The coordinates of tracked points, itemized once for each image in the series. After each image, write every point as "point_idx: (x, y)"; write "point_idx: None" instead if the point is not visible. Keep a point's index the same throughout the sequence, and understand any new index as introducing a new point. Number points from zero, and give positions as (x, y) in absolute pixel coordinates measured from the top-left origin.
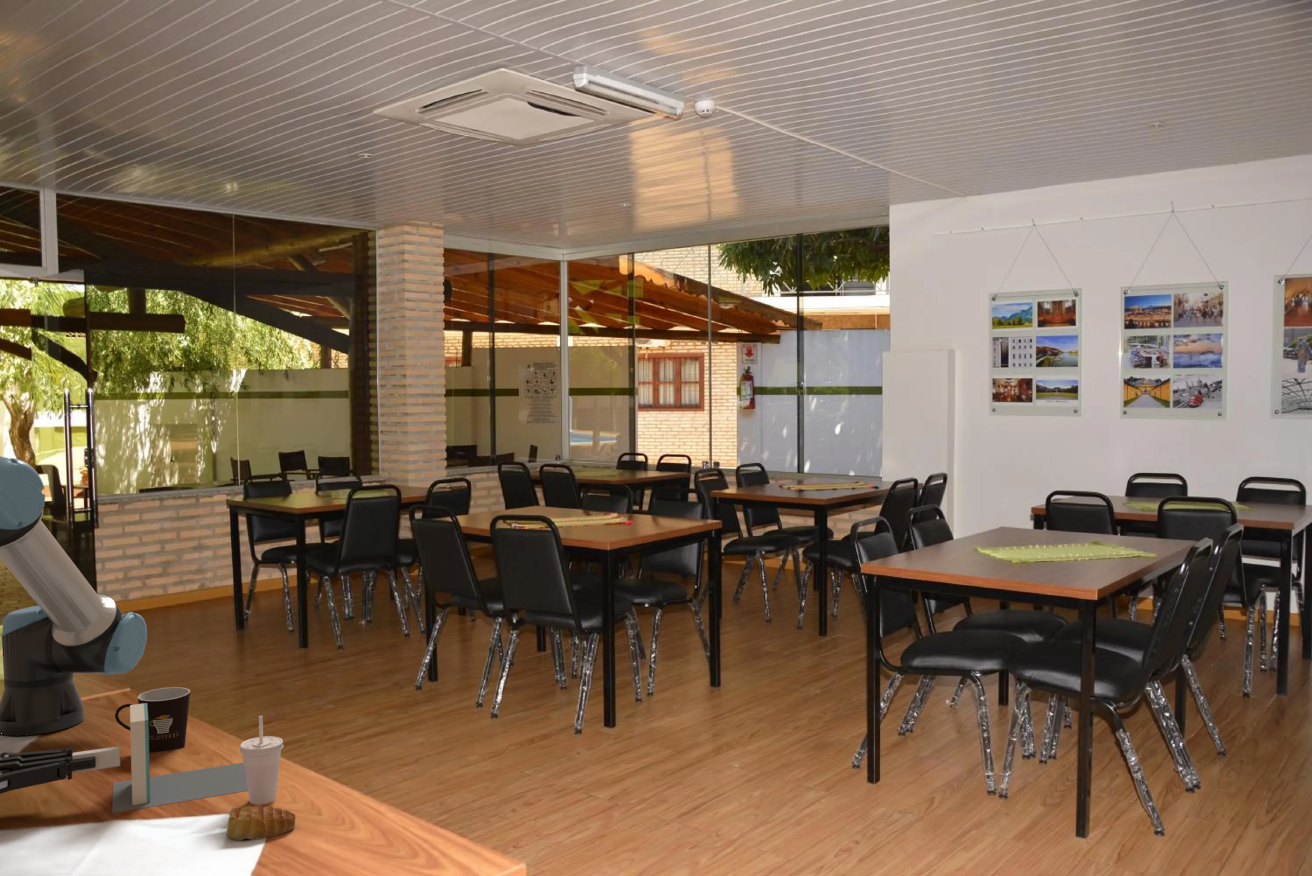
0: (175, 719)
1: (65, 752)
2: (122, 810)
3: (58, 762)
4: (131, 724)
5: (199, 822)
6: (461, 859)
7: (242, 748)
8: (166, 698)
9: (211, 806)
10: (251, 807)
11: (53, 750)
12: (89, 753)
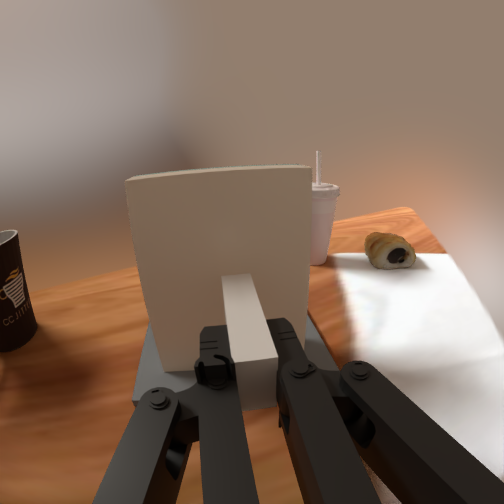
0: (23, 273)
1: (176, 398)
2: (331, 364)
3: (356, 383)
4: (311, 173)
5: (367, 289)
6: (408, 211)
7: (332, 190)
8: None
9: (312, 287)
10: (387, 236)
11: (126, 439)
12: (264, 319)
